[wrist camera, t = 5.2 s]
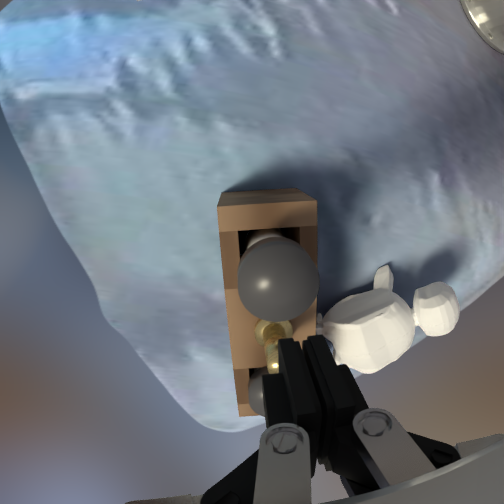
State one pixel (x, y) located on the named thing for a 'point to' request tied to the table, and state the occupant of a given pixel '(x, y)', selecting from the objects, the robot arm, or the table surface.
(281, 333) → the brass door knob
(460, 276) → the table surface
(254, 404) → the dark grey rounded lump
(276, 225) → the walnut mount
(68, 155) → the table surface
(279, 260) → the knob
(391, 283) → the white piece
